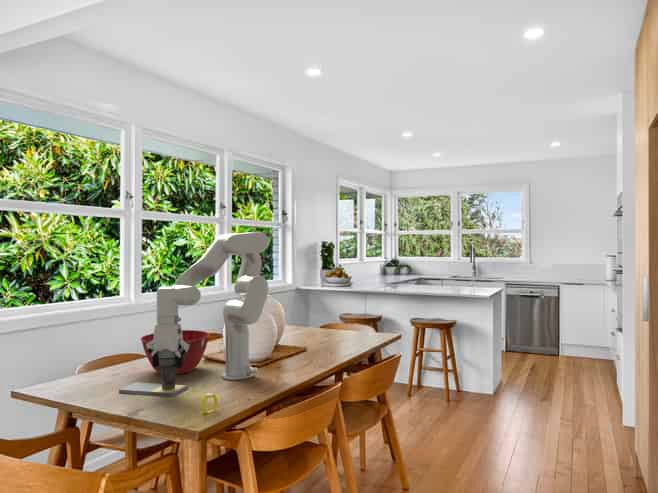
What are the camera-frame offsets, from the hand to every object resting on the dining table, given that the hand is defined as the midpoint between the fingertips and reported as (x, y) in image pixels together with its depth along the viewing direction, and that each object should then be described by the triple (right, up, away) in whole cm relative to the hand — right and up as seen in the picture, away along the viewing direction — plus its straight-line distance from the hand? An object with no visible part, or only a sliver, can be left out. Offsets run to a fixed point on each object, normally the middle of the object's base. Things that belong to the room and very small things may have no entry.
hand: (167, 367), depth 181 cm
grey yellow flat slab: (-6, -9, +1) cm, 11 cm away
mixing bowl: (-7, -10, +31) cm, 34 cm away
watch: (+21, -9, -24) cm, 33 cm away
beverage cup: (0, -8, 0) cm, 8 cm away
